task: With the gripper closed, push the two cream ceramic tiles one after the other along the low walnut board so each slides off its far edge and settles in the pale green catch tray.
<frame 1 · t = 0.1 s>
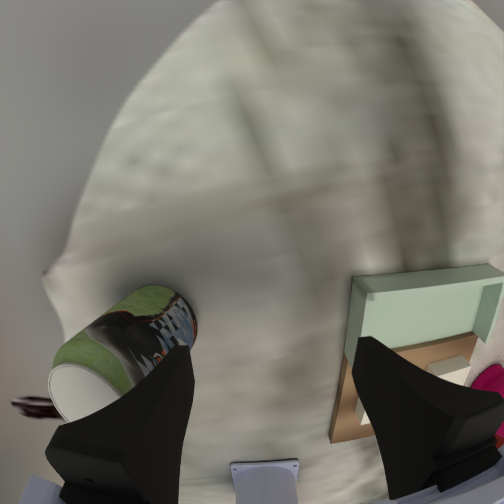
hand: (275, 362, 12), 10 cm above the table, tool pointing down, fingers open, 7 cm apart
tray: (425, 307, 23), on the table
tile a: (380, 390, 24), point 1 cm above the table, touching board
tile b: (439, 376, 25), point 1 cm above the table, touching board
beverage can: (156, 308, 23), on the table
board: (403, 387, 26), on the table
pepper mill: (484, 382, 28), on the table
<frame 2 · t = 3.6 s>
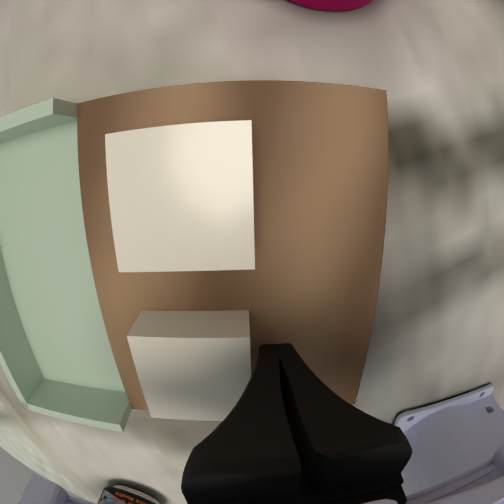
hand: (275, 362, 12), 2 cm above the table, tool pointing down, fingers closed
tray: (48, 273, 13), on the table
tile a: (199, 354, 13), point 1 cm above the table, touching board, gripper
tile b: (188, 192, 11), point 1 cm above the table, touching board
beverage can: (132, 492, 20), on the table
board: (235, 270, 13), on the table
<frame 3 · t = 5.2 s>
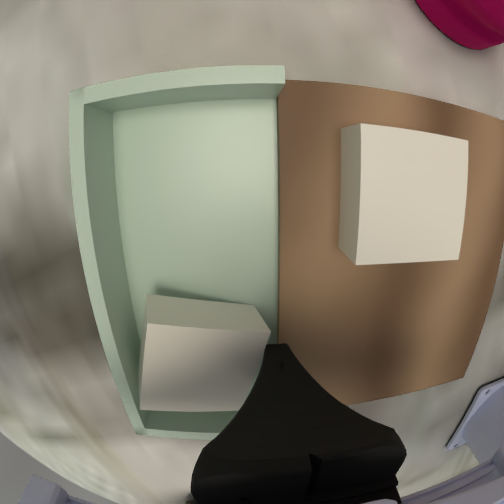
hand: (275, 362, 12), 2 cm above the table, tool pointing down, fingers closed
tray: (194, 271, 13), on the table
tile a: (192, 344, 13), point 1 cm above the table, tilted 17°, touching gripper, tray
tile b: (393, 190, 11), point 1 cm above the table, touching board
beverage can: (212, 501, 20), on the table
board: (402, 263, 13), on the table
pepper mill: (451, 1, 9), on the table
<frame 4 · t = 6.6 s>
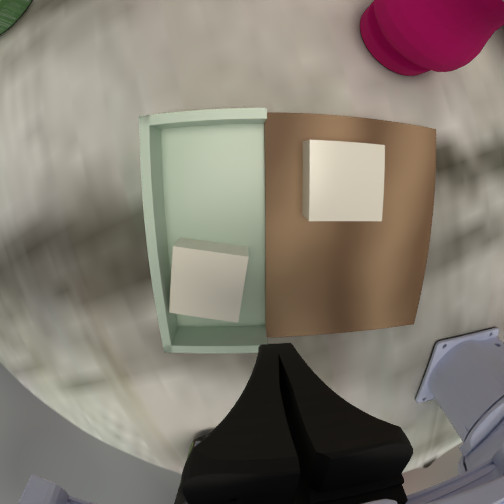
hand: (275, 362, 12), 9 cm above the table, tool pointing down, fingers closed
tray: (211, 231, 20), on the table
ramekin: (11, 3, 13), on the table
tile a: (209, 274, 20), resting on tray
tile b: (338, 178, 18), point 1 cm above the table, touching board
board: (351, 229, 20), on the table
pepper mill: (396, 39, 16), on the table
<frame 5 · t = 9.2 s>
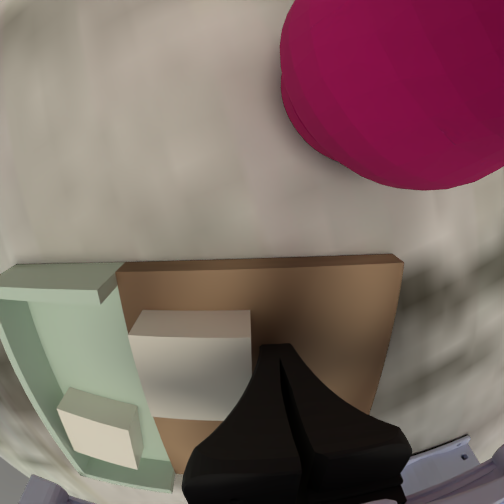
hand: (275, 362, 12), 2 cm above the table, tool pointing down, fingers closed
tray: (99, 383, 15), on the table
tile a: (107, 420, 15), resting on tray
tile b: (200, 354, 13), point 1 cm above the table, touching board, gripper
board: (262, 391, 15), on the table
pepper mill: (353, 93, 11), on the table
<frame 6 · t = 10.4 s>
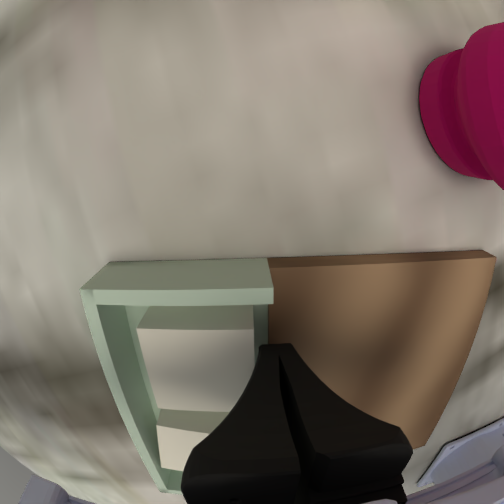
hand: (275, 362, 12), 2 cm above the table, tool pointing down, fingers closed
tray: (201, 391, 15), on the table
tile a: (202, 429, 15), resting on tray
tile b: (205, 347, 13), point 1 cm above the table, touching gripper, tray
board: (372, 379, 15), on the table
pepper mill: (463, 114, 11), on the table
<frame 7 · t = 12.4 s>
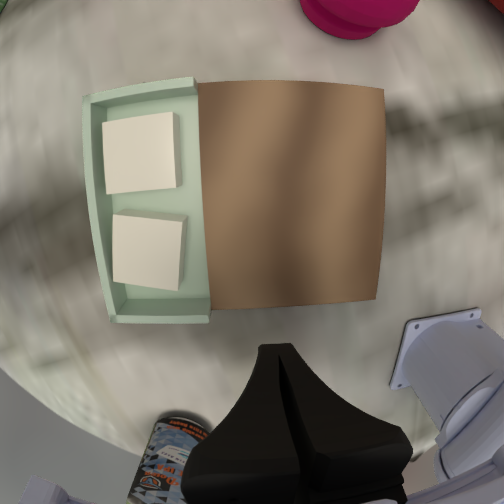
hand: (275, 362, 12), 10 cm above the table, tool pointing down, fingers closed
tray: (153, 202, 20), on the table
tile a: (153, 244, 20), resting on tray
tile b: (147, 153, 18), resting on tray
beverage can: (179, 428, 27), on the table
board: (295, 195, 20), on the table
pepper mill: (340, 6, 16), on the table
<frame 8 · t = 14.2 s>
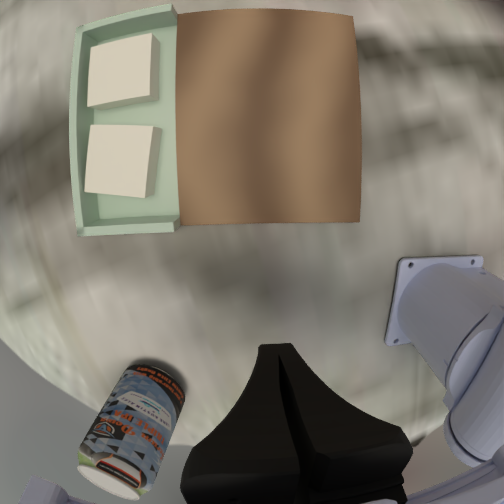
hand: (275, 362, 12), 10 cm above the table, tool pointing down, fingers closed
tray: (131, 120, 19), on the table
tile a: (127, 159, 19), resting on tray
tile b: (129, 75, 17), resting on tray
beverage can: (151, 382, 26), on the table
board: (268, 110, 19), on the table
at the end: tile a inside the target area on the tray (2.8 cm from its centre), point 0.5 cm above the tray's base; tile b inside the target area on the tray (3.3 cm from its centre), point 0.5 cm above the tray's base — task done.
